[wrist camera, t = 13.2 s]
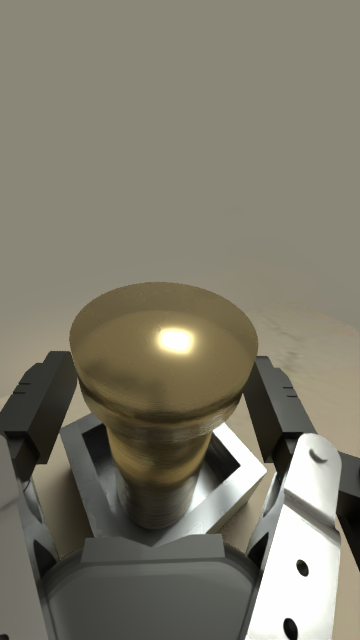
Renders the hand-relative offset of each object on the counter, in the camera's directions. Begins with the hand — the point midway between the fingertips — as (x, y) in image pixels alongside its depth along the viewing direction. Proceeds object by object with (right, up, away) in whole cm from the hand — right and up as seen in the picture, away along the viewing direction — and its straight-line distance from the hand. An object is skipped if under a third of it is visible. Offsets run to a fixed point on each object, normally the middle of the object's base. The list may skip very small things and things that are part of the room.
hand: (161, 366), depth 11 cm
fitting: (-1, -9, +5) cm, 10 cm away
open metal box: (-1, -9, +5) cm, 10 cm away
